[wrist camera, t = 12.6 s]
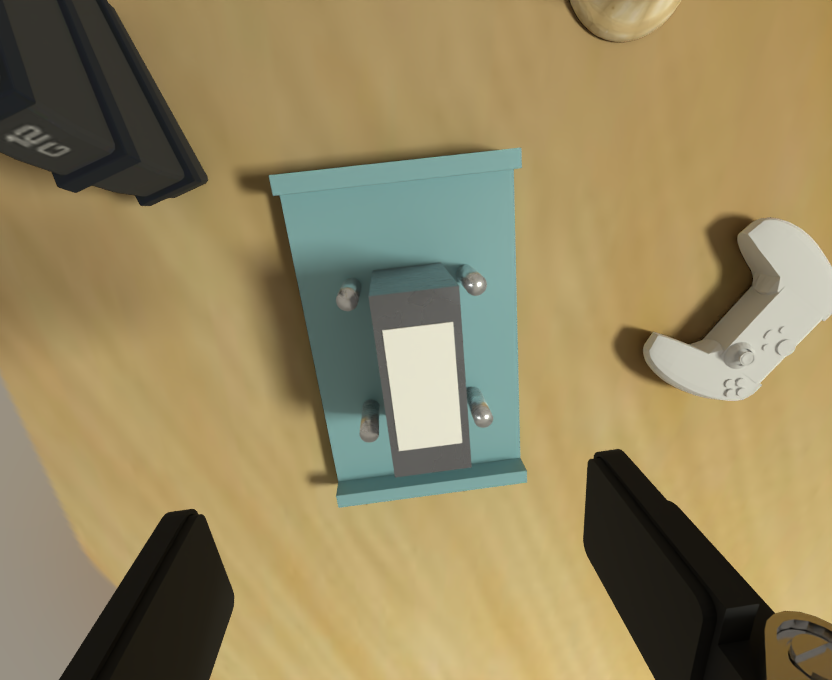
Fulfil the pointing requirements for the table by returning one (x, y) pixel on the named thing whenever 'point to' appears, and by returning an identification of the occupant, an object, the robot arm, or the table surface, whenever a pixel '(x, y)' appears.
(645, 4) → the hand bell
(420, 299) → the block
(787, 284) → the game controller
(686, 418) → the table surface
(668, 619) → the robot arm
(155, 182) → the black stepped block
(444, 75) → the table surface
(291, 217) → the pin tray
